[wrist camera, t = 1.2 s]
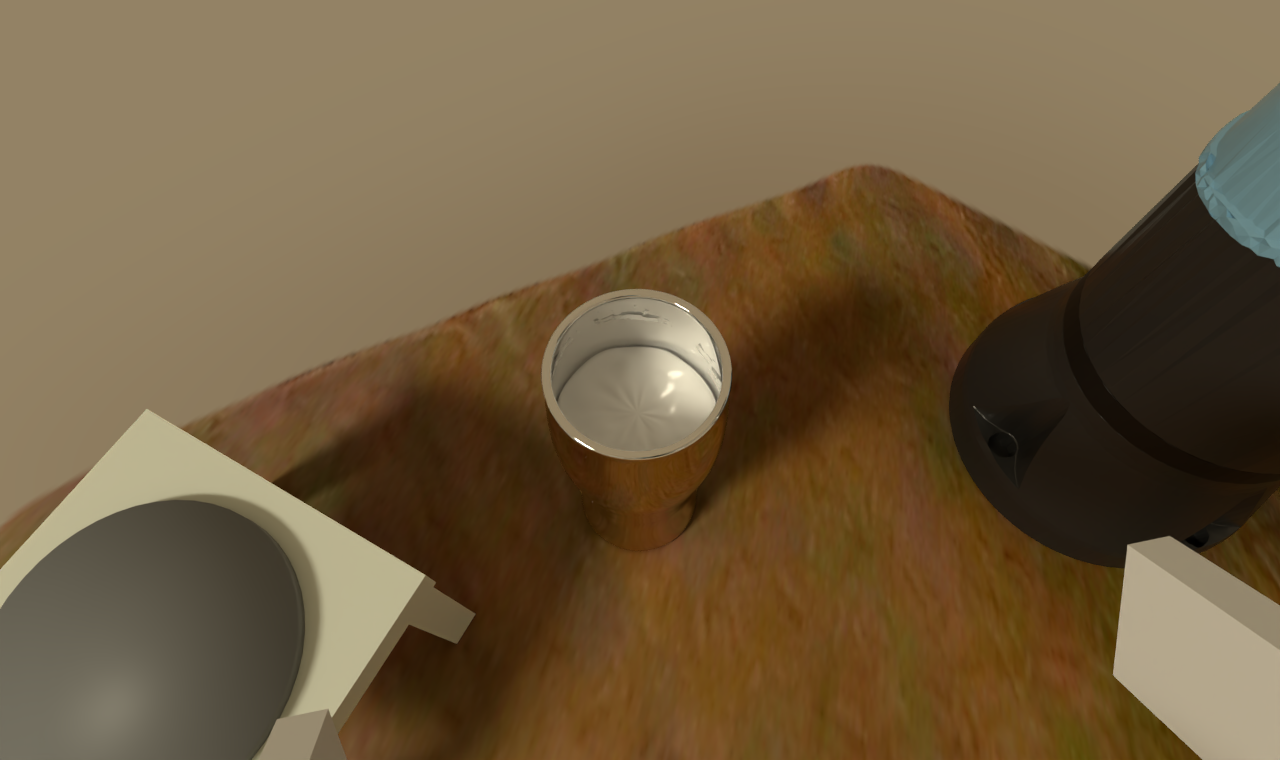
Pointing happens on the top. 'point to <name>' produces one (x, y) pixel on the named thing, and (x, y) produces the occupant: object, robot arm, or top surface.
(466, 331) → the top surface
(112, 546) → the stool
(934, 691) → the top surface
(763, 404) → the top surface
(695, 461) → the beer glass
